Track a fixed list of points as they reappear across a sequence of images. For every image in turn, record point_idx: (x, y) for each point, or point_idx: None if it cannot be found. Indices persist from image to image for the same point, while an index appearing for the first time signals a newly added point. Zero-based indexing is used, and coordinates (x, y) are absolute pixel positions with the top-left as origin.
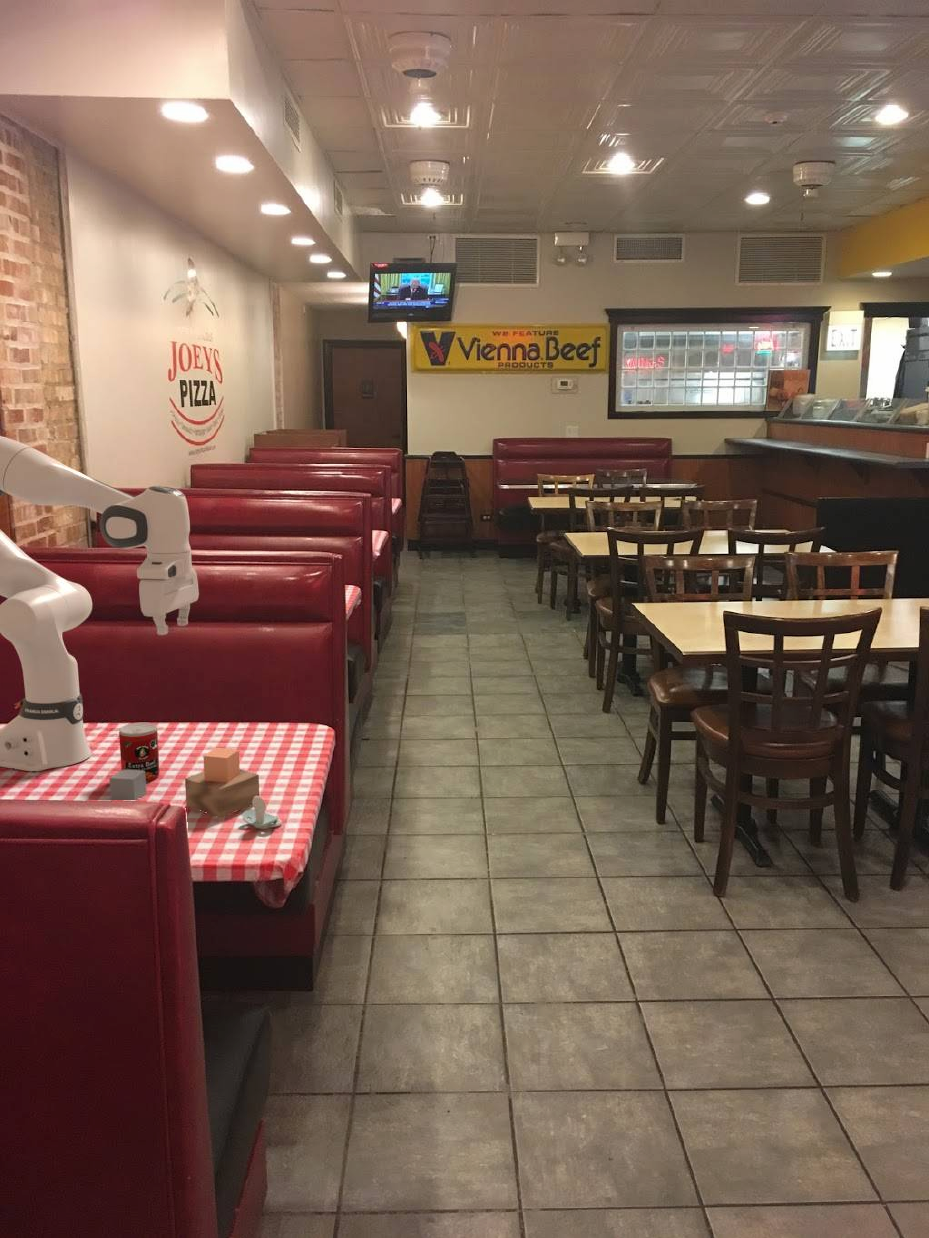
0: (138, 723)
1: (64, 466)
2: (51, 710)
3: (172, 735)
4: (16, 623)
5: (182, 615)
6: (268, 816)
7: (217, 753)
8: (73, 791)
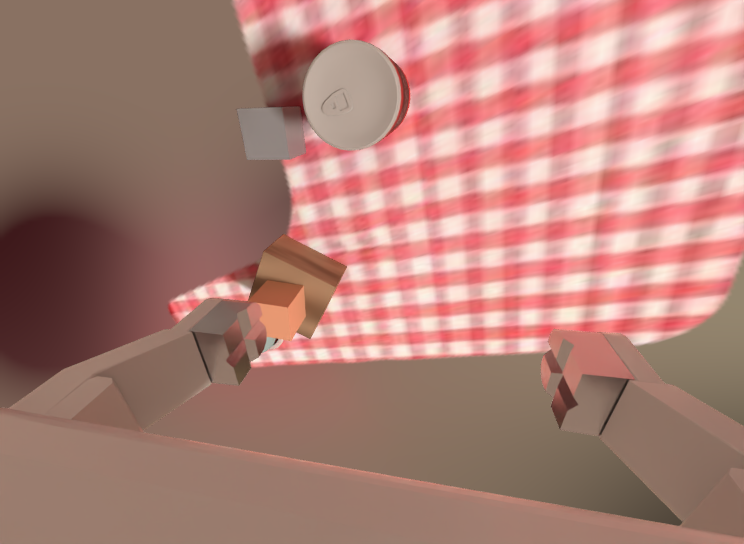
0: (389, 74)
1: None
2: None
3: (694, 11)
4: None
5: (632, 423)
6: (272, 339)
7: (265, 317)
8: None
